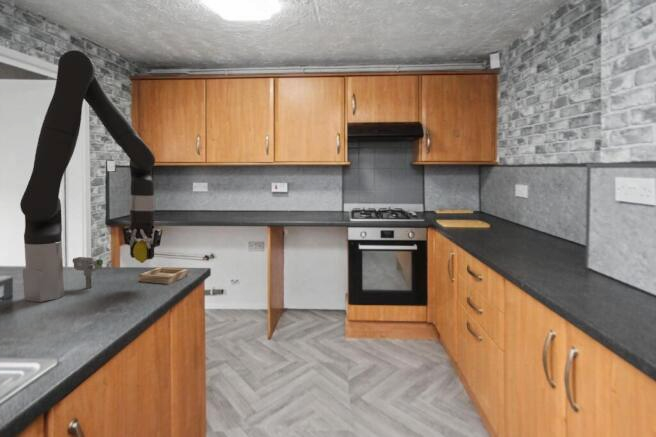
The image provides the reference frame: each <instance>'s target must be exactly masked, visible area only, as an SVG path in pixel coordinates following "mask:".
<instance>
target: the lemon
mask: <svg viewBox="0 0 656 437" xmlns="http://www.w3.org/2000/svg"><path fill="white" fill-rule="evenodd" d="M147 249H148V247H147V244H146V243H145V242H144V239H140V240H139V241H138V242H137V243H136V244H135V246H134V249H133V255H134V257H135V260H136V261H138V262H139V263H141V264H143V263H145V261H147V260H149V259H147Z"/></svg>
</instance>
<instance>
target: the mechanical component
mask: <svg viewBox="0 0 656 437" xmlns="http://www.w3.org/2000/svg"><path fill="white" fill-rule="evenodd" d="M72 263H73V268H74V269H75V270H76V271H83V275H84V276H85V289H90V288H92V275H93V272H96V271H99V270H101V269H102V268H103V260H102V259H99V258H96V259H95V260H94V259H93V257H85V256H83V257H82V256H79V257H74V258H73V259H72Z"/></svg>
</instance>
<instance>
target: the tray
mask: <svg viewBox="0 0 656 437" xmlns="http://www.w3.org/2000/svg"><path fill="white" fill-rule="evenodd" d="M188 276H189V268H188V269H186V268H175V267H173V268H172V267H164V266H163V267H161V266H160V267H157V268H154V269H151V270H149V271H146V272H143V273H140V274H138V281H139V282H143V283H145V282H146V283H154V284H155V283H156V284H168V285H170V284H172V283H174V282H176V281H179V280H181V279H183V278H186V277H188Z"/></svg>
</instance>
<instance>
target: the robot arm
mask: <svg viewBox="0 0 656 437" xmlns="http://www.w3.org/2000/svg"><path fill="white" fill-rule="evenodd" d="M57 66H58V67H57V74H56V80H55V81H56V82H55V86H54V91H53V95H52V98H51V100H50V103H49V105H48V107H47V110H46V112H45V116H44V118H43V121H42V124H41V128H40V131H39V136H38V140H37V145H36V149H35V155H34V161H33V162H34V163H33V168H32V171H31V175H30V178H29V181H28V183H27V185H26V188H25V190H24V192H23V195H22V196H21V199H20V204H19V206H20V207H19V208H20V210H21V212H22V214H23V215H24V225H25V226H24V234H23V241H24V242H23V244H24V257H25V258H24V259H25V268H23V269H22V281H23V296H24V297H23V298H24V301H27V302H36V303H37V302H38V303H42V302H47V301H53V300H56V299H59V298H63V297H64V296H65V281H64V262H63V261H64V260H63V243H62V242H63V240H62V239H63V238H62V232H63V225H62V222H63V221H62V203H61V199H60V197H59V196H60V192H61V191H60V190H61V184H62V180H63V177H64V175H65V172H66V170H67V168H68V166H69V163H70V161H71V160H72V157H73V155H74V152H75V149H76V145H77V142H78V140H79V139H78V137H79V134H80V129H81V122H82V113H83V103H84V101H86V102H87V104H88V105H89V107H90V108H91V109H92V111H93V112H94V113H95V115H96V116H97V118H98V119H99V121H100V122H101V124H102V125H103V126H104V128H105V129H106V131H107V132H108V134H109V135H110V137H112V139H113V140H114V141H115V143H116V144H117V145H118V146H119V147H120V148H121V149H122V150H123V152H124V153H125V155H126V156H127V157H128V158H129V168H130V169H129V170H130V199H129V222H130V226H125V227H124V226H123V227H122V229H121V230H122V235H123V240H124V244H125V245H127V246H129V247H130V248H129V250H130V251H129V256H130V257H131V258H132V259H133V258H135V257H134V255H133V249H134V246H135V244H136V243H137V242H139V241H141V240H144V242H145V243H146V244H147V247H148V249H147V259H148V260H153V259H154V257H155V248H157V247H160V246H161V240H162V234H163V229H161V228H159V229H158V228H155V225H154V224H155V212H156V211H155V207H156V206H155V204H156V203H155V196H154V194H155V193H154V192H155V188H154V187H155V183H154V180H153V167H154V166H155V163H156V157H155V154H154V153H153V151H152V150H151V148H149V147H148V145H147V144H146V143H145V142H144V140H143V139H142V138H141V137H140V135H139V134H138V133H137V131H136V129H135V128H134V127H133V125H132V124H131V123H130V121H129V120H128V119H127V117H126V116H125V114H124V113H123V112H122V111H121V110H120V109H119V108H118V106H117V105H116V104H115V103H114V102H113V100H111V98H110V97H109V95H108V94H107V92H106V91H105V90H104V88H103V86H102V85H101V83H100V82H99V80H98V78H97V76H96V68H95V65H94V63H93V60H92V59H91V57H89V56H88V55H87V54H86V53H85V52H83V51H80V50H74V49H73V50H67V51H66V52H64V53H62V55H61V56H60V57H59V59H58V63H57Z"/></svg>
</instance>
